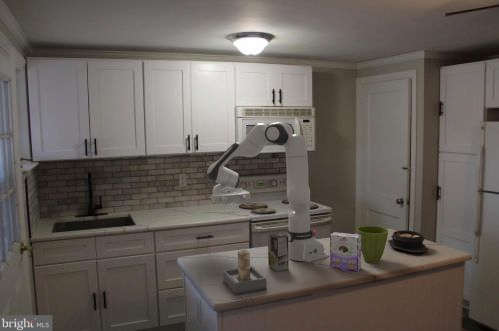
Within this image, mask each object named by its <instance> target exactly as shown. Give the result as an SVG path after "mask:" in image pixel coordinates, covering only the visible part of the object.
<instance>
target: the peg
mask: <svg viewBox="0 0 499 331" xmlns="http://www.w3.org/2000/svg"><path fill="white" fill-rule="evenodd" d="M250 267H251V253H250V252H249V251H248V250H247V249H245V250H238V251H237V269H238V280H239V282H242V281H247V280H250Z"/></svg>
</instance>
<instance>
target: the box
mask: <svg viewBox="0 0 499 331" xmlns="http://www.w3.org/2000/svg"><path fill="white" fill-rule="evenodd" d="M222 275H223V276H222V278H223V279H222V280H223V283H224V284H225V285H226V287H227V288H228V289H229V290H230V291H231V292H232V293H233V294H234V295H235V296H239V295H245V294H246V295H247V294H250V293H256V292H260V291H261V292H262V291H267V290H268V287H267V283H268V282H267V277H266V276H265V275H263V274H262V273H261V272H260V271H259V270H257V269H256V268H255V267H254V266H251V265H250V280H247V281H242V282H239V280H238V268H234V269H226V270H222Z"/></svg>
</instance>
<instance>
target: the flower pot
mask: <svg viewBox="0 0 499 331" xmlns="http://www.w3.org/2000/svg"><path fill="white" fill-rule="evenodd" d="M356 231H357V232H356V233H357V235H361V256H363V260H364V261H365V262H366V263H370V264H371V263H372V264H376V263H380V261H381V260H382V257H383V254H384V251H385V248H386V245H387V242H388V237H389V236H388V235H389V229H388V228H387V227H383V226H374V225H364V226H363V225H362V226H359V227H357V229H356Z"/></svg>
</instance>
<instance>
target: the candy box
mask: <svg viewBox="0 0 499 331" xmlns="http://www.w3.org/2000/svg"><path fill="white" fill-rule="evenodd" d="M329 239H330V240H329V251H330V252H329V258H330V259H329V260H330V266H329V267H330V268H332V269H338V270H344V271H345V270H346V271H352V272H359V271H360V270H361V269H362V251H361V235H358V234H354V233H353V234H352V233H345V232H338V231H337V232H335V231H334V232H332V233H331V234H330V235H329Z"/></svg>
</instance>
